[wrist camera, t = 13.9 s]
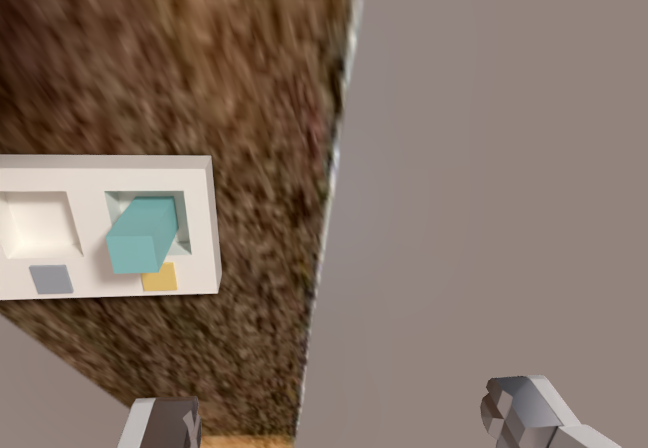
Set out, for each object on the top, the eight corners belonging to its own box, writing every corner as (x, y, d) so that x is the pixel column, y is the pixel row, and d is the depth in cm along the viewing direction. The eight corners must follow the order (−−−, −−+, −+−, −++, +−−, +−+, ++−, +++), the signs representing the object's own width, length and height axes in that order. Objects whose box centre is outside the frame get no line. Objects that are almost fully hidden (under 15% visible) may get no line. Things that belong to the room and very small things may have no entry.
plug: (135, 196, 37) (105, 236, 31) (173, 196, 38) (152, 235, 31) (142, 229, 39) (114, 273, 32) (178, 228, 39) (158, 272, 32)
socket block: (-26, 154, 35) (-58, 169, 32) (210, 155, 37) (204, 169, 34) (20, 278, 41) (-3, 302, 38) (221, 273, 43) (217, 295, 40)
